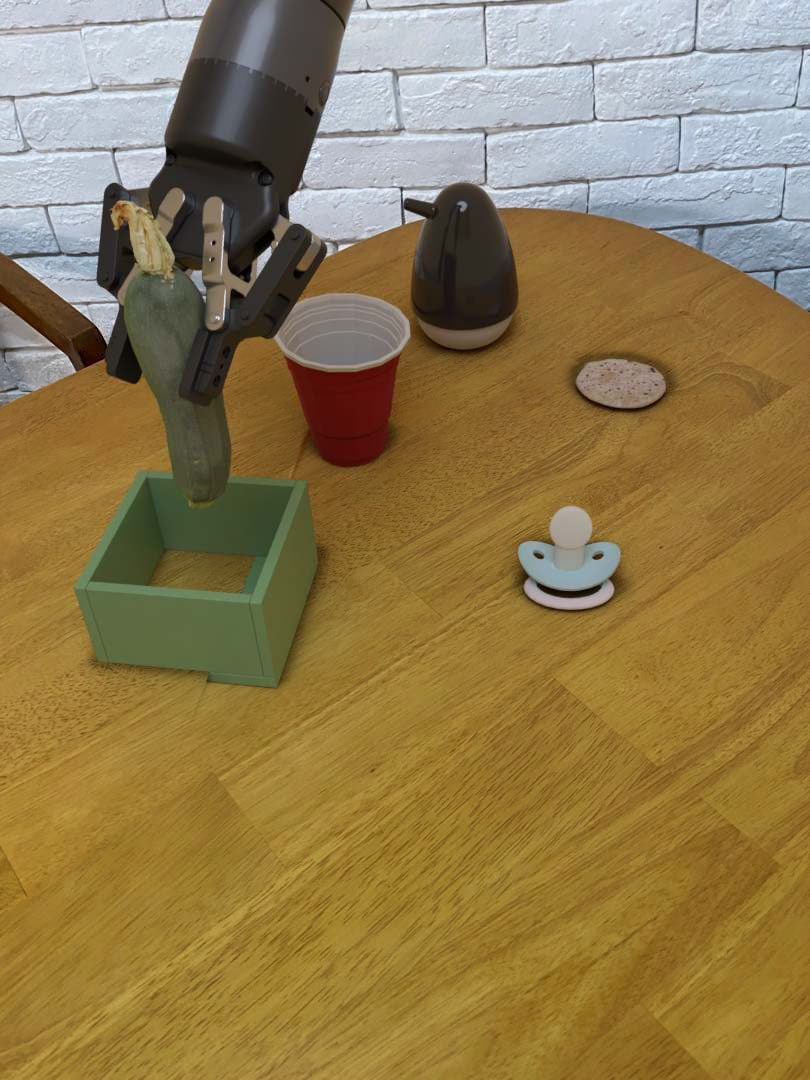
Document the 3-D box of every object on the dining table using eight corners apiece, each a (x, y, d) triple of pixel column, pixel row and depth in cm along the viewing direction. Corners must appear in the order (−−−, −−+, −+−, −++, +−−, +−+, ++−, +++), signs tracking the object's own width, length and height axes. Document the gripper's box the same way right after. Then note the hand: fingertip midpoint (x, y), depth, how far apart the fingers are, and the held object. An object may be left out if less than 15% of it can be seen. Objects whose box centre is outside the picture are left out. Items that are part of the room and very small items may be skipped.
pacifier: (621, 616, 80) (616, 557, 84) (628, 552, 75) (623, 494, 80) (516, 614, 80) (517, 555, 85) (518, 550, 76) (519, 492, 80)
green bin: (101, 671, 78) (72, 588, 73) (160, 551, 87) (139, 469, 82) (277, 688, 76) (261, 603, 71) (319, 563, 85) (307, 480, 80)
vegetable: (257, 499, 69) (204, 189, 56) (220, 542, 67) (154, 226, 53) (197, 482, 71) (131, 177, 58) (158, 524, 68) (79, 213, 55)
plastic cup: (372, 502, 91) (361, 375, 83) (265, 464, 95) (244, 340, 87) (440, 432, 97) (436, 308, 89) (337, 399, 102) (324, 279, 94)
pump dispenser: (405, 314, 113) (396, 166, 103) (508, 304, 113) (509, 156, 103) (416, 369, 105) (407, 215, 95) (526, 357, 106) (529, 203, 96)
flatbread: (682, 385, 101) (683, 375, 100) (632, 423, 97) (633, 413, 96) (607, 354, 105) (607, 345, 104) (556, 390, 101) (557, 380, 100)
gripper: (111, 36, 60) (11, 342, 60) (336, 71, 54) (225, 408, 55) (191, 102, 67) (100, 377, 67) (398, 139, 61) (299, 439, 61)
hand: (157, 389), depth 61 cm, fingers closed on vegetable, 4 cm apart
